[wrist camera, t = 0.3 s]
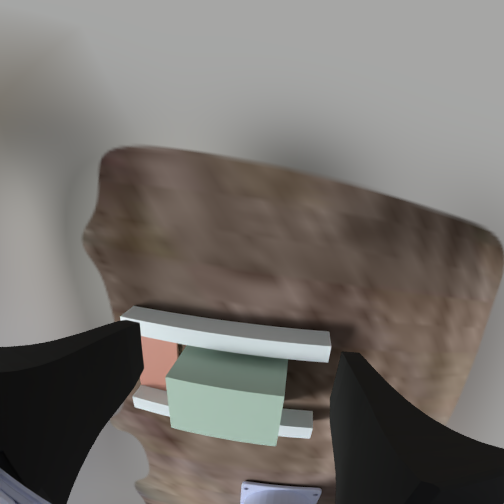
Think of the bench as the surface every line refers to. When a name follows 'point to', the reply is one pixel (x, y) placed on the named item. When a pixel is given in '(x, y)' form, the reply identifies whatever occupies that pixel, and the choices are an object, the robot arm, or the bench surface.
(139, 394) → the channel
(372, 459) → the robot arm
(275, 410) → the block
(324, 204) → the bench surface
